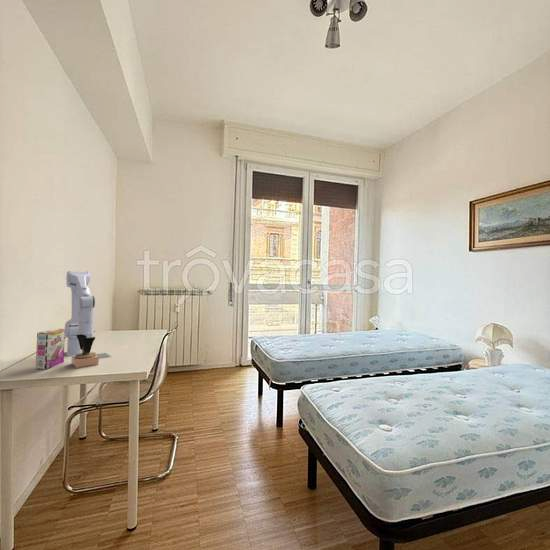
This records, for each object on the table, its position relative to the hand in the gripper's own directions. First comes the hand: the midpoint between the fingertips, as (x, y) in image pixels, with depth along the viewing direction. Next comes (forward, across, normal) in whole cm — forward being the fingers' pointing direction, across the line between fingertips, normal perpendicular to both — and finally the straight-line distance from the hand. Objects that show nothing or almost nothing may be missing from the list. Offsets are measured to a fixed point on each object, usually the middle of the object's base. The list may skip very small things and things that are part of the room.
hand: (85, 350), depth 140 cm
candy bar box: (+7, +8, +12) cm, 16 cm away
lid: (+3, 0, 0) cm, 3 cm away
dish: (+7, 0, 0) cm, 7 cm away
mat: (+7, +11, -8) cm, 15 cm away
